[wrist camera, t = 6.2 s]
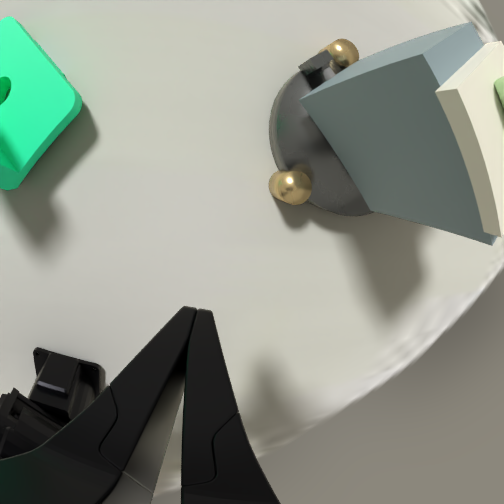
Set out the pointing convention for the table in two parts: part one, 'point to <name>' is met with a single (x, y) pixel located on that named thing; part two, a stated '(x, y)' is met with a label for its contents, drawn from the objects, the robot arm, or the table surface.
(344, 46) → the tribrach base
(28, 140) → the camera mount
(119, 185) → the table surface
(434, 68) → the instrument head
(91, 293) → the table surface
